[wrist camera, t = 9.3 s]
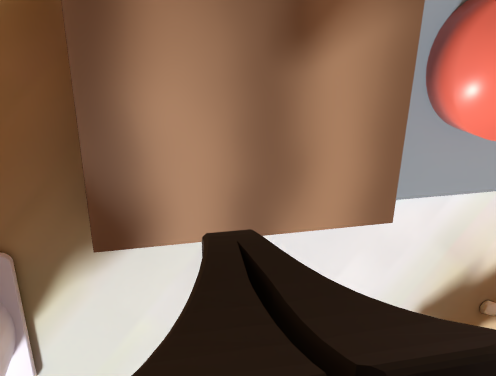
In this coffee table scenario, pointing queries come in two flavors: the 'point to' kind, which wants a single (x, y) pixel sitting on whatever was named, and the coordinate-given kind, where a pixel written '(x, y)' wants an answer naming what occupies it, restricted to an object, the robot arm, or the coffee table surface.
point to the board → (239, 114)
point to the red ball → (465, 69)
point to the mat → (440, 133)
